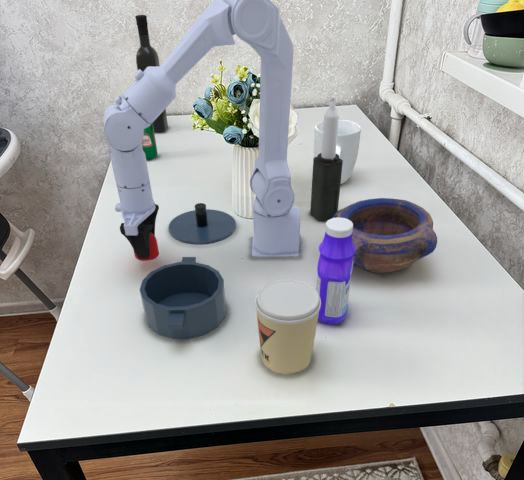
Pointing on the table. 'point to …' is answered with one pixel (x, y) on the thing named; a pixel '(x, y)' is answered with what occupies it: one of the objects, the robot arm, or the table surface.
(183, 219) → the lid
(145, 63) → the wine bottle
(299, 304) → the coffee cup
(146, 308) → the pot
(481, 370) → the table surface
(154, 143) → the soda can
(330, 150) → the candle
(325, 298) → the bottle
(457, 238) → the table surface
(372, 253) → the bowl
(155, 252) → the strawberry
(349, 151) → the mug
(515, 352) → the table surface
